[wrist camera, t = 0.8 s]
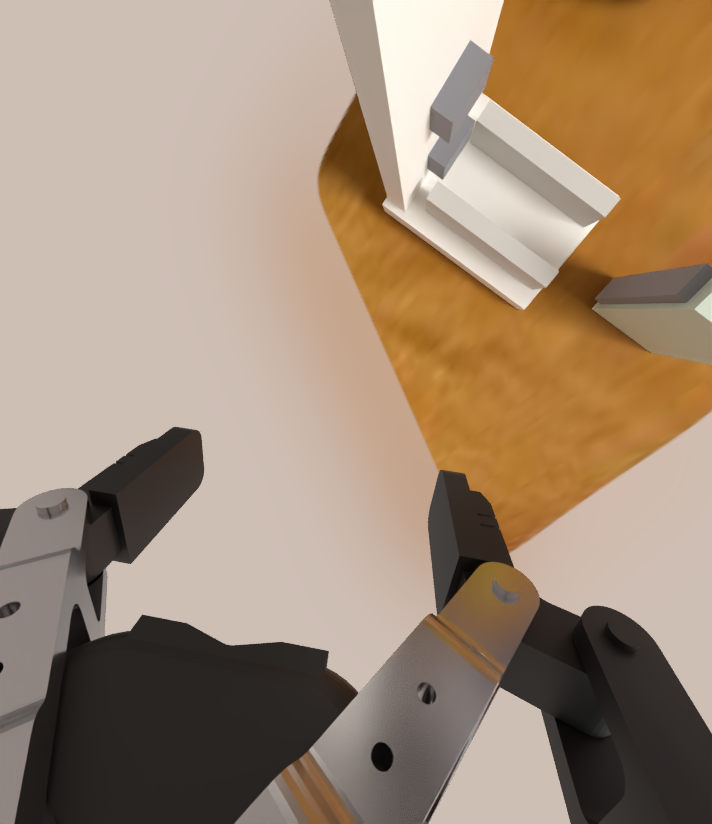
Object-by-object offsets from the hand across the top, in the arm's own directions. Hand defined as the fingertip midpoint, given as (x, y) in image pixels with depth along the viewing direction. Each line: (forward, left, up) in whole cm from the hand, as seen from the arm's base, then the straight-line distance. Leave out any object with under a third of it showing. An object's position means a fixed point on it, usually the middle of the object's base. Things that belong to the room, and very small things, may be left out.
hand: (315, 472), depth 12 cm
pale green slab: (-20, +4, -22) cm, 30 cm away
